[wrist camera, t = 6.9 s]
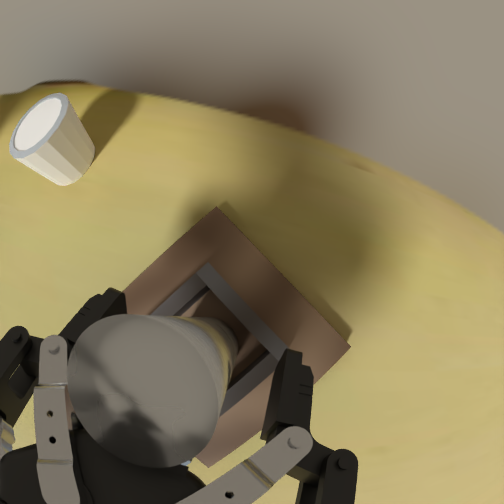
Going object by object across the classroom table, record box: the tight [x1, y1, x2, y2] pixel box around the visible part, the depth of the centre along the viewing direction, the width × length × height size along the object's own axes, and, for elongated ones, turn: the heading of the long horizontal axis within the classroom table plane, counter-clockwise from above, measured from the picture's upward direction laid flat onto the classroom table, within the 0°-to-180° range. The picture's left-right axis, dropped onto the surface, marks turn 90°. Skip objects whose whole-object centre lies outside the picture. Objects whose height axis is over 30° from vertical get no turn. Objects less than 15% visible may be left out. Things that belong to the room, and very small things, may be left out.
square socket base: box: [123, 206, 351, 468], centre depth 18 cm, size 14×14×3 cm
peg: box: [67, 314, 238, 468], centre depth 12 cm, size 4×4×13 cm
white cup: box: [9, 93, 95, 186], centre depth 19 cm, size 7×7×7 cm
